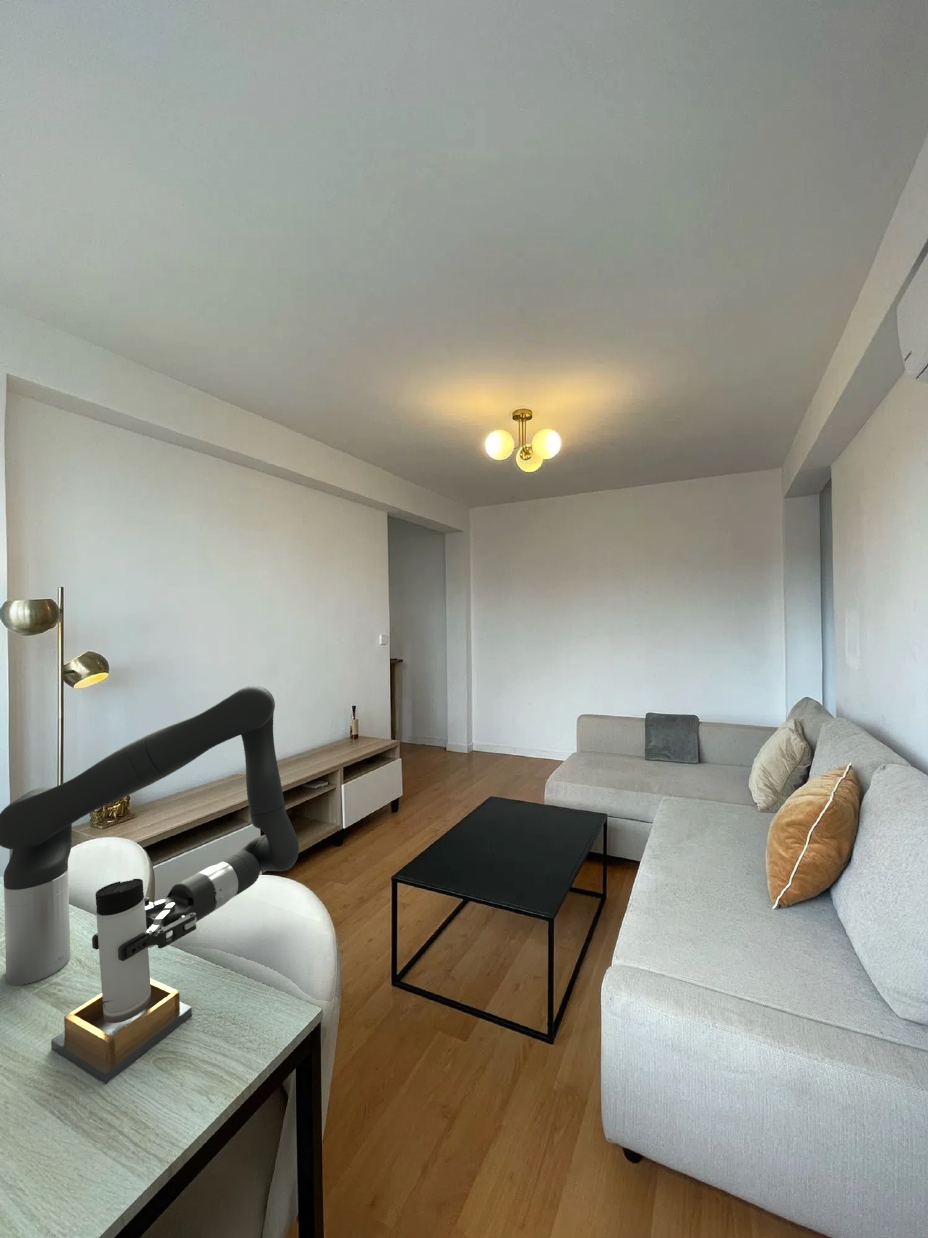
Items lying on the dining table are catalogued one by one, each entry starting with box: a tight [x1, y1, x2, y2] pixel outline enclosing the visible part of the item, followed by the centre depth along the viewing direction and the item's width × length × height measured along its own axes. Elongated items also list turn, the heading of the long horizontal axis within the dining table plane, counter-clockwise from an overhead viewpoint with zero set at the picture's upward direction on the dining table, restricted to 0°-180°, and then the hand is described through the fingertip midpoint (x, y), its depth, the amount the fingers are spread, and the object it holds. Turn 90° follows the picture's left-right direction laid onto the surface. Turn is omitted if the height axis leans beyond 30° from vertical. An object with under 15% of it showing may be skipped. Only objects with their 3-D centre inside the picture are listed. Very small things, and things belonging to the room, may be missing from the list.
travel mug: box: [95, 878, 151, 1023], centre depth 78 cm, size 6×7×20 cm
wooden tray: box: [50, 977, 193, 1085], centre depth 78 cm, size 14×13×4 cm
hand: (106, 949), depth 76 cm, fingers closed on travel mug, 6 cm apart
